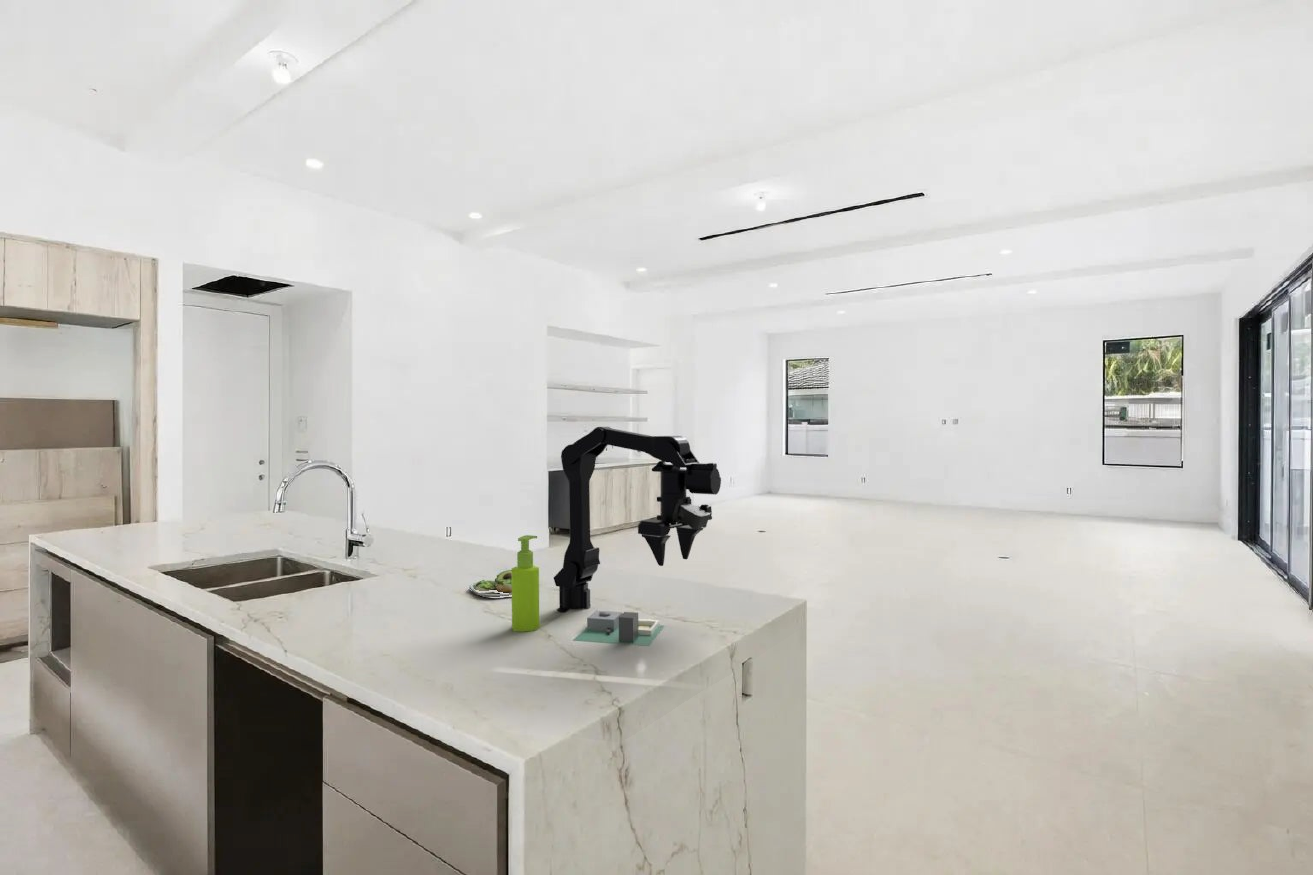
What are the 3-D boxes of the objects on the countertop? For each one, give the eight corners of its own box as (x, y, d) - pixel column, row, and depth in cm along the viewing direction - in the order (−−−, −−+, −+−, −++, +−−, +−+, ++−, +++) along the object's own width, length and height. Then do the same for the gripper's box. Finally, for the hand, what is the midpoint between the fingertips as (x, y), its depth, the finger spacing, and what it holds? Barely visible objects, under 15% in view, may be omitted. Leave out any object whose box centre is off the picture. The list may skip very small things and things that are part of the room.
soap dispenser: (546, 623, 156) (545, 534, 155) (530, 632, 149) (530, 539, 149) (523, 621, 158) (522, 533, 157) (506, 630, 151) (506, 538, 151)
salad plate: (551, 596, 181) (551, 579, 181) (482, 605, 173) (482, 587, 173) (528, 582, 198) (528, 566, 198) (465, 589, 190) (464, 572, 190)
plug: (618, 641, 140) (618, 617, 140) (625, 634, 145) (625, 610, 145) (633, 642, 139) (633, 618, 139) (639, 635, 144) (639, 611, 144)
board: (572, 644, 141) (572, 625, 141) (595, 624, 155) (595, 607, 155) (648, 649, 137) (648, 631, 137) (665, 628, 151) (665, 611, 151)
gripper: (678, 498, 142) (678, 574, 143) (726, 491, 157) (726, 560, 158) (636, 495, 149) (636, 567, 150) (686, 488, 164) (686, 554, 164)
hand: (673, 562), depth 155 cm, fingers open, 9 cm apart
